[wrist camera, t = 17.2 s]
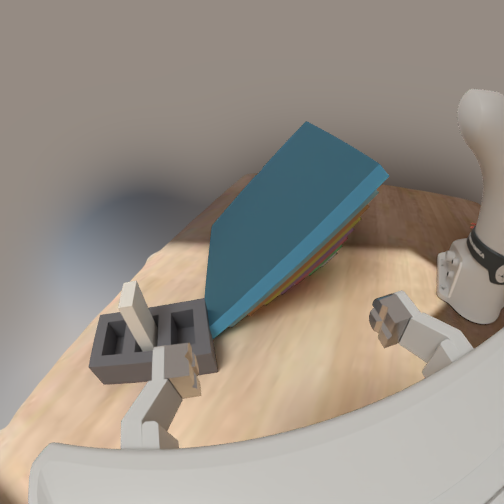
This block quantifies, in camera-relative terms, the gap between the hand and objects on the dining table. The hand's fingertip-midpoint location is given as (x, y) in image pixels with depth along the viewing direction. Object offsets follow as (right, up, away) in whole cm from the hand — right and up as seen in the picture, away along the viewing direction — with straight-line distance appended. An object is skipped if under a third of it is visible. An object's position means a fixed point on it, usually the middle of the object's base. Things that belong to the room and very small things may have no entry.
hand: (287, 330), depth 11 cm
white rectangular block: (-17, -12, +29) cm, 36 cm away
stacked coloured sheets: (+3, 0, +46) cm, 47 cm away
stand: (-17, -13, +30) cm, 37 cm away
